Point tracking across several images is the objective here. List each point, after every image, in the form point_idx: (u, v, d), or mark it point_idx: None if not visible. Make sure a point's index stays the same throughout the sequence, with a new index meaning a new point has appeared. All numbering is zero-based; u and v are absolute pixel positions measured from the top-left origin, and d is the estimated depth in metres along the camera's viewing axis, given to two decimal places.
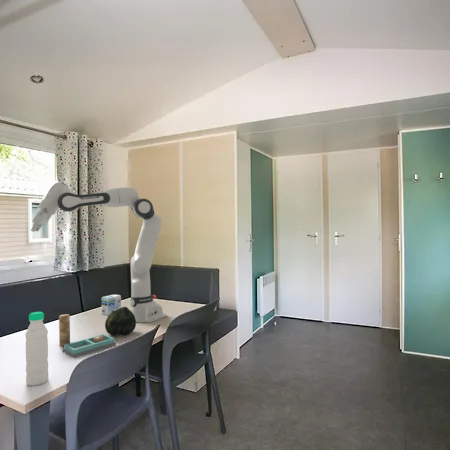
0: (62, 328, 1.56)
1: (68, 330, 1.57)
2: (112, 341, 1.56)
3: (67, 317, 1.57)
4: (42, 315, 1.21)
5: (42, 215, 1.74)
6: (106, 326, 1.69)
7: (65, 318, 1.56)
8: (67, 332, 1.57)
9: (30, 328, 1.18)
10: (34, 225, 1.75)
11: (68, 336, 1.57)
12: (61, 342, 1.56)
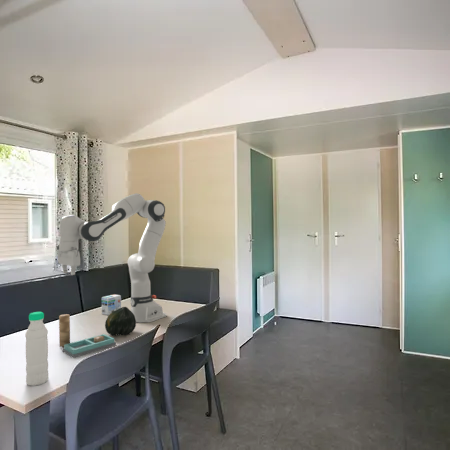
0: (62, 328, 1.56)
1: (68, 330, 1.57)
2: (112, 341, 1.56)
3: (67, 317, 1.57)
4: (42, 315, 1.21)
5: (78, 255, 1.66)
6: (106, 326, 1.69)
7: (65, 318, 1.56)
8: (67, 332, 1.57)
9: (30, 328, 1.18)
10: (73, 268, 1.67)
11: (68, 336, 1.57)
12: (61, 342, 1.56)
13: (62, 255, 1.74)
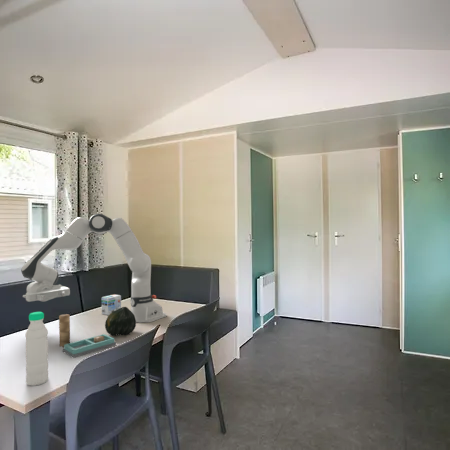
0: (62, 328, 1.56)
1: (68, 330, 1.57)
2: (112, 341, 1.56)
3: (67, 317, 1.57)
4: (42, 315, 1.21)
5: (25, 294, 1.66)
6: (106, 326, 1.69)
7: (65, 318, 1.56)
8: (67, 332, 1.57)
9: (30, 328, 1.18)
10: (37, 298, 1.64)
11: (68, 336, 1.57)
12: (61, 342, 1.56)
13: None
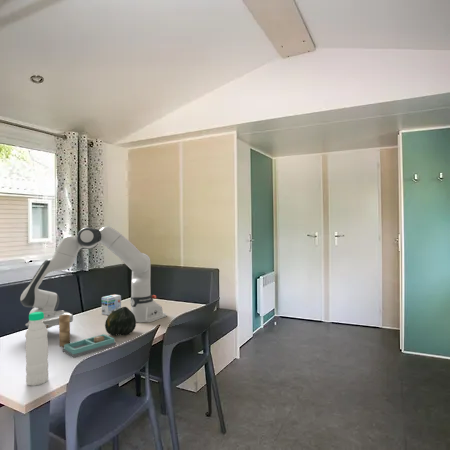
0: (62, 328, 1.56)
1: (68, 330, 1.57)
2: (112, 341, 1.56)
3: (67, 317, 1.57)
4: (42, 315, 1.21)
5: (28, 322, 1.64)
6: (106, 326, 1.69)
7: (65, 318, 1.56)
8: (67, 332, 1.57)
9: (30, 328, 1.18)
10: None
11: (68, 336, 1.57)
12: (61, 342, 1.56)
13: None
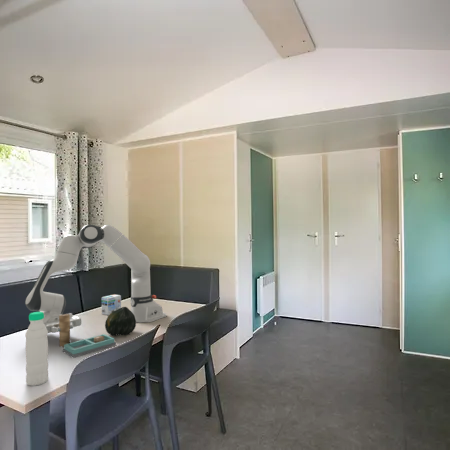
0: (62, 328, 1.56)
1: (68, 330, 1.57)
2: (112, 341, 1.56)
3: (67, 317, 1.57)
4: (42, 315, 1.21)
5: None
6: (106, 326, 1.69)
7: (65, 318, 1.56)
8: (67, 332, 1.57)
9: (30, 328, 1.18)
10: (52, 330, 1.56)
11: (68, 336, 1.57)
12: (61, 342, 1.56)
13: None
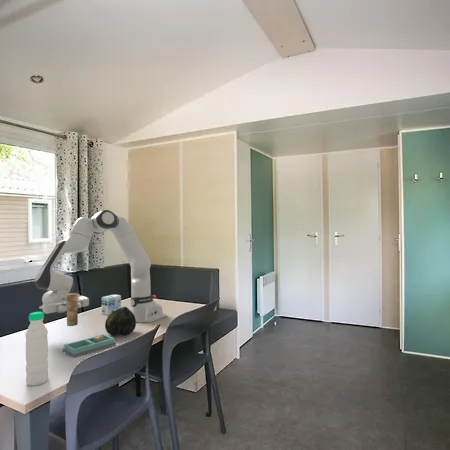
0: (69, 307, 1.51)
1: (75, 309, 1.53)
2: (112, 341, 1.56)
3: (75, 296, 1.53)
4: (42, 315, 1.21)
5: (42, 305, 1.53)
6: (106, 326, 1.69)
7: (73, 297, 1.52)
8: (75, 311, 1.53)
9: (30, 328, 1.18)
10: (59, 309, 1.52)
11: (76, 315, 1.53)
12: (68, 321, 1.52)
13: None
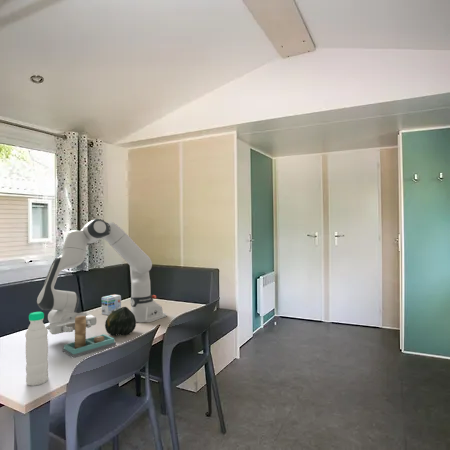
0: (78, 330, 1.48)
1: (84, 332, 1.49)
2: (112, 341, 1.56)
3: (83, 319, 1.49)
4: (42, 315, 1.21)
5: (49, 326, 1.49)
6: (106, 326, 1.69)
7: (81, 320, 1.49)
8: (83, 334, 1.49)
9: (30, 328, 1.18)
10: (64, 330, 1.48)
11: (84, 339, 1.50)
12: (76, 345, 1.48)
13: None
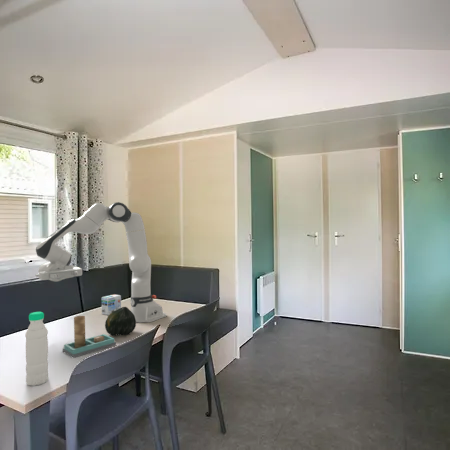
0: (77, 330, 1.48)
1: (83, 332, 1.49)
2: (112, 341, 1.56)
3: (82, 319, 1.49)
4: (42, 315, 1.21)
5: None
6: (106, 326, 1.69)
7: (80, 320, 1.48)
8: (82, 334, 1.49)
9: (30, 328, 1.18)
10: (50, 276, 1.62)
11: (83, 339, 1.50)
12: (76, 345, 1.48)
13: None
